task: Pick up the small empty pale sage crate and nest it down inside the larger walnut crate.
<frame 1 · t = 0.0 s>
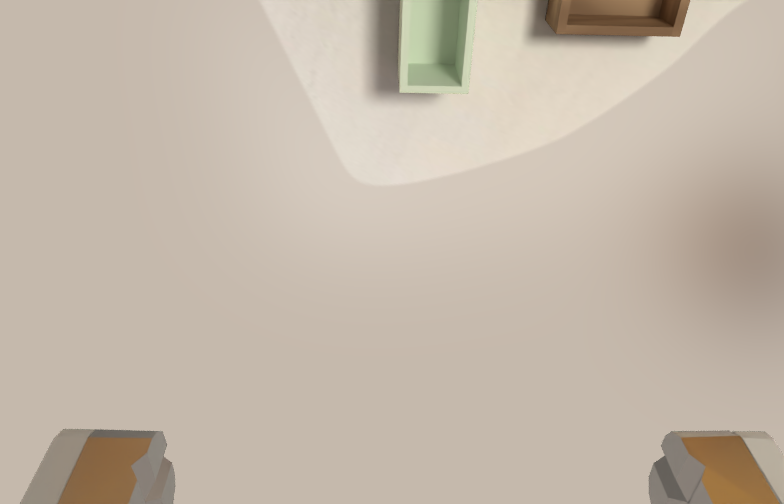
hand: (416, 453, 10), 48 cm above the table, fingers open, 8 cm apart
sage crate: (433, 2, 52), on the table
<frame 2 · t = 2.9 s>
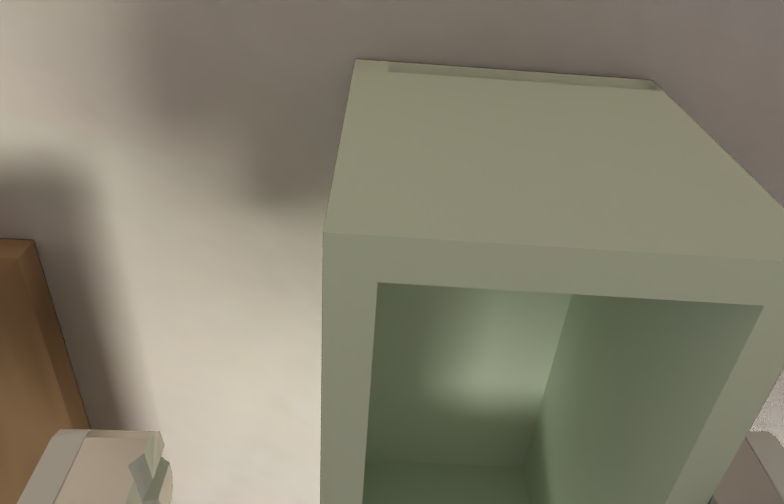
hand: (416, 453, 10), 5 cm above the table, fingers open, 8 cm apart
sage crate: (465, 304, 15), on the table, touching gripper
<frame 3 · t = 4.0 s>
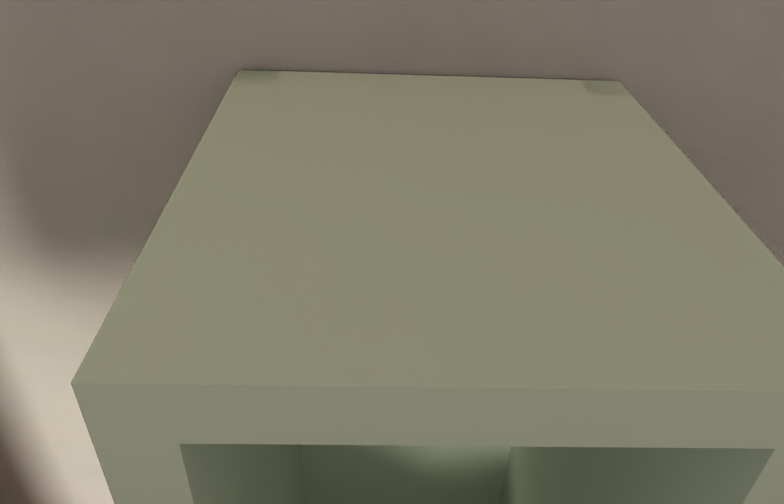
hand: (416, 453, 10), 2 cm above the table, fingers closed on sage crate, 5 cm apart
sage crate: (410, 353, 12), on the table, touching gripper
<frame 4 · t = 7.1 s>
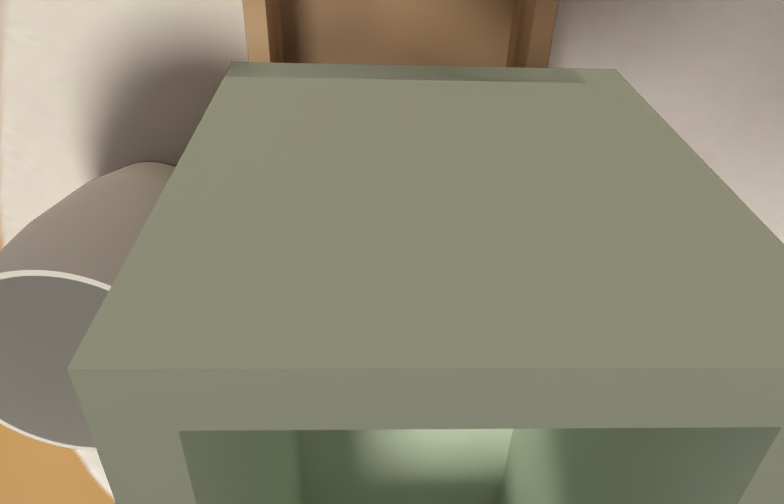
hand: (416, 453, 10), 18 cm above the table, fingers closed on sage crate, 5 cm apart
cup: (160, 209, 29), on the table
walnut crate: (395, 75, 25), on the table
sage crate: (408, 347, 12), point 16 cm above the table, touching gripper
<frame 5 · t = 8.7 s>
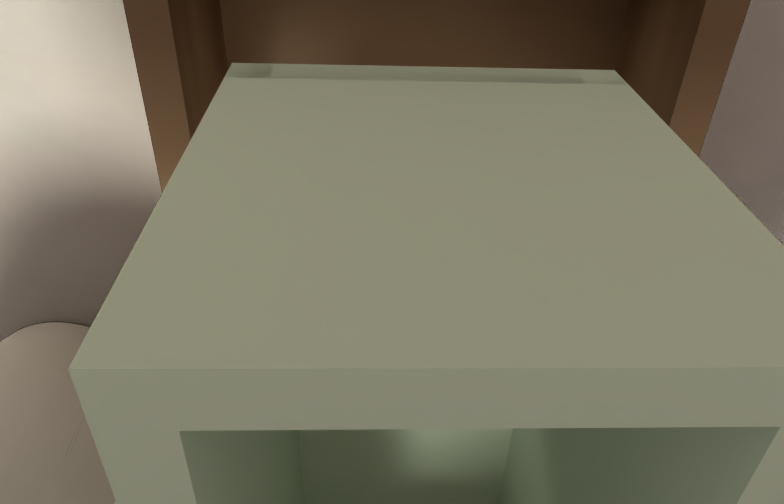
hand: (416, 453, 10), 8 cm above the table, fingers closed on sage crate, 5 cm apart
cup: (80, 376, 21), on the table
walnut crate: (411, 216, 17), on the table
sage crate: (408, 348, 12), point 5 cm above the table, touching gripper
when the fingers open (5 cm above the table, at t = 10.3 s): sage crate drops 2 cm, resting on walnut crate.
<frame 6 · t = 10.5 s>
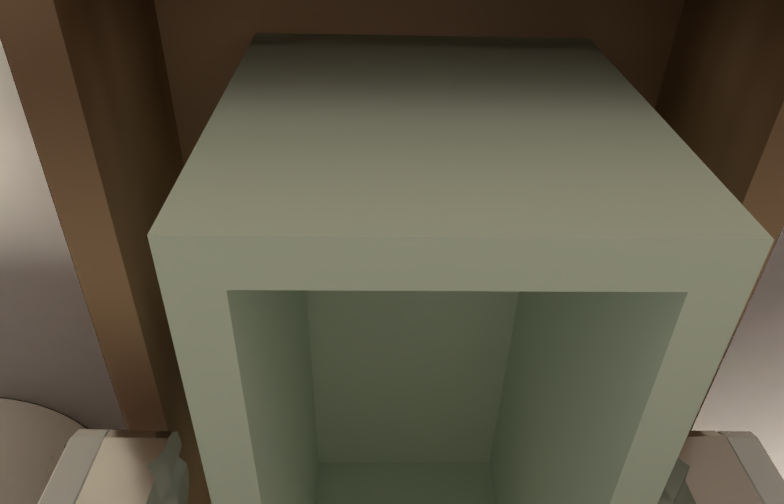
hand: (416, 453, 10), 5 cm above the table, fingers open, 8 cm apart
cup: (22, 453, 18), on the table
walnut crate: (405, 277, 14), on the table
sage crate: (410, 295, 14), point 1 cm above the table, touching walnut crate
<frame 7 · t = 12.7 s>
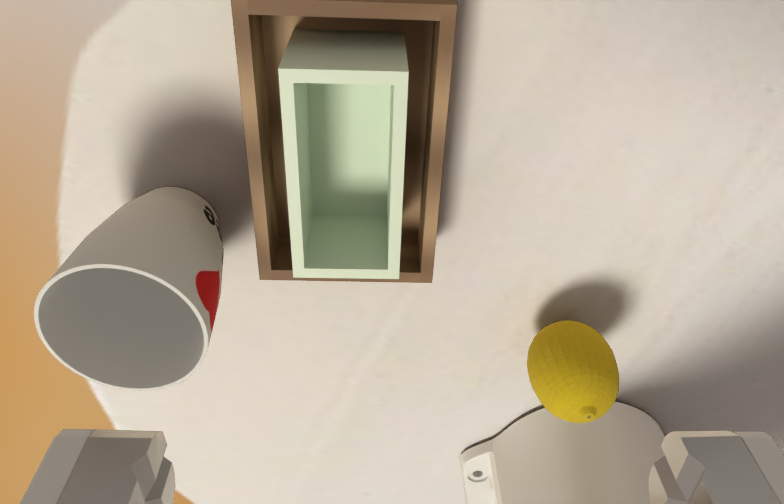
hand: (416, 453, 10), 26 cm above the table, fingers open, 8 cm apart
lemon: (556, 325, 44), on the table
cup: (177, 220, 39), on the table
walnut crate: (348, 128, 35), on the table
sage crate: (349, 132, 35), point 1 cm above the table, touching walnut crate
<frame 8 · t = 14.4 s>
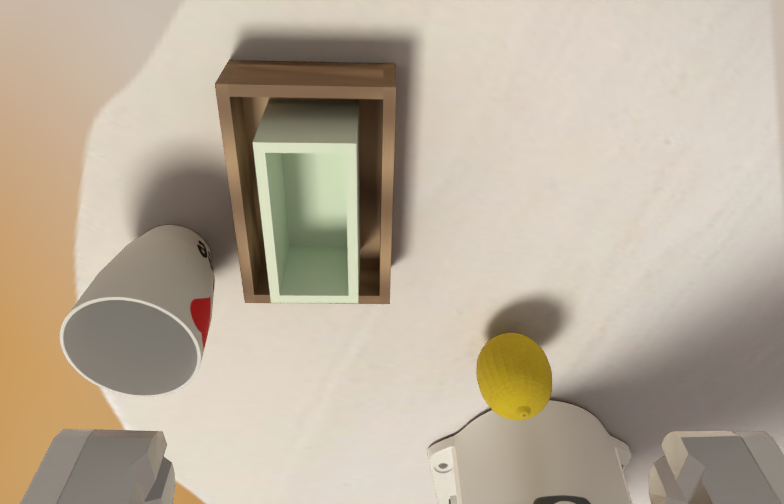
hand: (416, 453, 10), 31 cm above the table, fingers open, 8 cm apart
lemon: (504, 336, 51), on the table
cup: (176, 252, 46), on the table
walnut crate: (317, 176, 42), on the table
sage crate: (318, 180, 42), point 1 cm above the table, touching walnut crate
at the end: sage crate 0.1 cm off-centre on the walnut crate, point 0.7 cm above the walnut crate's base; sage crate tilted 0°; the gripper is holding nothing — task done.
